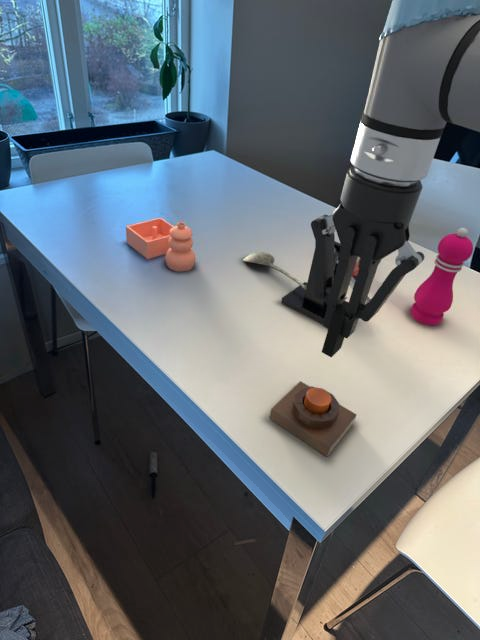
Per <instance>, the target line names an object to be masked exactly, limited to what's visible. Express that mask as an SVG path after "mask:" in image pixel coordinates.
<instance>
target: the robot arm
mask: <svg viewBox="0 0 480 640" xmlns="http://www.w3.org/2000/svg"><path fill="white" fill-rule="evenodd" d="M378 38H379V39H378V41H379V43H378V48H377V53H376V57H375V62H374V66H373V70H372V75H371V81H370V84H369V89H368V92H367V93H368V94H367V98H366V103H365V107H364V110H363V111H362V115H361V118H360V122H359V125H358V129H357V133H356V137H355V141H354V145H353V147H352V152H351V157H350V163H351V165H352V166H351V167H350V168H348V169H347V171H346V175H345V179H344V183H343V187H342V190H341V193H340V200H339V201H340V202H339V205H338V206H337V208H335V209H334V211H333V212H332V214H331V215H328V214H323V215H321V216H319V217H317V218H315V219H314V220H312V221H311V222H310V228H311V231H312V235H313V237H314V241H315V243H314V246H315V247H314V251H315V295H316V297H317V298H318V299H323V300H324V301H325V302H326V304H327V309H326V313H325V317H324V320H323V324H322V327H323V328H325V329H327V332H326V335H325V339H324V342H323V345H322V348H321V353H322V354H324V355H326V356H327V357H329V358H333V357H334V356H335V355H336V354H337V353H338V352H339V351H340V350H341V349H342V346H343V344H344V341H345V339H346V340H348V339H349V338H350V337H351V336H352V335H353V334H354V333H355V331H356V328H357V325H358V322H359V320H361V321H363V322H364V323H368V322H369V321H370V320H371V319H372V318H373V317H374V316H375V315H376V314H377V313H379V311H380V310H381V308H382V307H384V304H386V302H387V301H388V299H389V298H390V296H391V295H392V294H393V293H394V291H395V289H397V287H398V286H399V284H400V283H401V282H402V280H403V279H404V278H405V277H406V275H407V274H409V273H410V272H412V271H413V270H415V269H416V268H417V267H418V266H419V265H420V264H422V263H423V261H424V260H425V254H424V252H422V251H416V249H414V247H413V246H412V244H411V243H410V242H409V239H410V236H411V235H410V234H411V233H410V228H409V227H410V223H411V220H412V218H413V215H414V212H415V210H416V207H417V204H418V201H419V199H420V198H419V197H420V195H421V193H422V190H423V184H422V180H425V179H426V178H427V177H428V174H429V172H430V170H431V169H430V168H431V166H432V163H433V160H434V157H435V155H436V152H437V149H438V146H439V143H440V140H441V137H442V136H443V133H444V129H445V127H446V125H447V123H449V124H452V125H454V126H455V125H457V126H460V127H463V128H466V129H469V130H471V131H476V132H478V133H480V0H392V1H391V4H390V8H389V11H388V13H387V17H386V21H385V24H384V27H383V30H382V32H381V33H380V35H379V37H378ZM335 232H336V235H337V237H338V242H339V243H341V248H340V252H339V255H338V259H339V261H338V265H337V268H336V272H335V276H334V246H335V241H336V239H335V238H336V236H335ZM396 251H397V253H398V254H397V256H396V257H395V259H394V260H395V261H394V262H395V265H396V266H395V267H393V268H392V269H391V271H390V272H389V273H388V275H387V276H386V278H385V279H384V280H383V282H382V283H381V284H380V286H379V287H378V288H377V291H376V292H375V293H374V294H373V296H372V297H371V298H370V299H371V300H370V302H369V303H368V305H365V303H366V300H367V297H369V294H370V290H371V287H372V284H373V282H374V279H375V275H376V273H377V270H378V266H379V265H380V263H381V261H382V260H383V259H385V258H386V257H387V256H390V255H391V254H393V253H394V252H396ZM358 257H360V258H361V259H360V262H359V266H358V268H359V271H358V274H357V276H356V278H355V284H354V287H353V289H352V291H351V294H350V297H349V300H348V302H349V303H348V305H346V304H344V303H343V304H342V302H343V301H344V300H345V301H347V299H348V297H347V293H348V290H349V287H350V285H349V284H350V281H351V277H352V274H353V271H354V268H355V264H356V261H357V258H358Z"/></svg>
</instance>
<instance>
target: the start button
mask: <svg viewBox="0 0 480 640" xmlns="http://www.w3.org/2000/svg"><path fill="white" fill-rule="evenodd" d="M321 388H322V387H317V388H311V389H309V390H308V391H307V393H306V397H305V400H304V405H305V407H306V408H307V409H308V410H309V411H310V412H312V413H315V414H323V413H325V412H327V411H328V409H329V406H330V403H331V396H330V394H329V393H330V392H329V391H328V390H326V389H324V388H322V389H321ZM327 391H328V392H329V393H328V392H327Z"/></svg>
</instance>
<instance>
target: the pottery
mask: <svg viewBox="0 0 480 640" xmlns="http://www.w3.org/2000/svg"><path fill="white" fill-rule="evenodd" d="M192 236H193V230H192V229H191V228H190V227H188V226H187V225H186V222H183V221H179V222H177V224H176V225H175V226H174V225H173V224H171V223H169V222H168V221H167V220H165V219H163V218H162V217H158V218H153V219H149V220H146V221H145V220H144V221H141V222H137V223H133V224H129V225H125V240H126V244H128V245H129V246H130V247H131V248H133V249H134V250H135V251H136V252H138V253H139V254H140V255H142V257H144V258H145V259H147V260H150V259H153V258H156V257H159V256H163V255H165V257H164V258H165V264H166V266H167V268H168V269H169V270H172V271H175V272H188V271H190V270H191V269H193V268H194V265H195V263H196V253H195V252H194V250H193V249H192V247H193V245H194V240H193V238H192Z"/></svg>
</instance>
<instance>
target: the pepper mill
mask: <svg viewBox="0 0 480 640" xmlns="http://www.w3.org/2000/svg"><path fill="white" fill-rule="evenodd" d="M468 233H469V231H468V229H467V228H466V227H460V228H458V229H457V230H456V233H449V234H446V235H445V236H443V237H442V238H441V240H440V241H439V242H438V244H437V252H438V254H437V255H436V257H435V259H434V265H435V266H434V268H433V270H432V273H430V275H429V276H428V277H427V278H426V279H425V280H424V281H423V282H422V283H420V285H419V286H418V287H417V289H416V290H415V292H414V295H413V299H414V302H413V304H412V306H411V308H410V311H409V313H410V316H411V317H412V318H413V319H414V321H417V323H421V324H423V325H425V326H438V325H440V324H441V322H442V321H443V318H444V316H445V314H444V313H446V312H448V311H449V310H450V309H451V307H452V305H453V302H454V291H453V288H454V281H455V278H456V276H457V275H458V273H459V272H461V271H462V269H463V267H464V266H465V265H464V264H465V262H466V261H468V260H469V259H470V258H471V257H472V254H473V253H474V245H473V242H472V240H471V239H470V238H469V237H468V236H467V235H468Z"/></svg>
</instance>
